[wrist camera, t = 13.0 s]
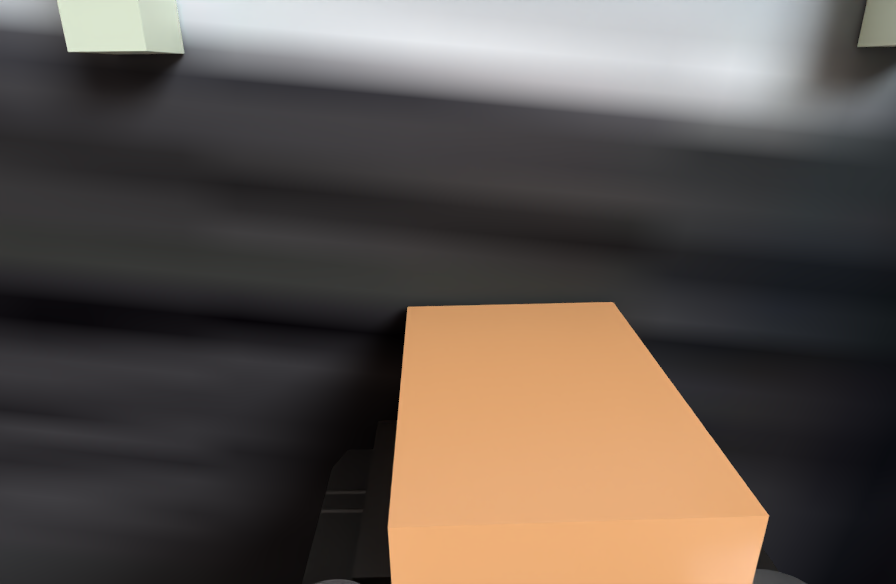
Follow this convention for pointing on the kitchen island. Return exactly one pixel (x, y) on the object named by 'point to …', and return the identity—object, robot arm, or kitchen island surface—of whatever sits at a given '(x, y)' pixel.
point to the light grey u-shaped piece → (158, 32)
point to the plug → (556, 457)
